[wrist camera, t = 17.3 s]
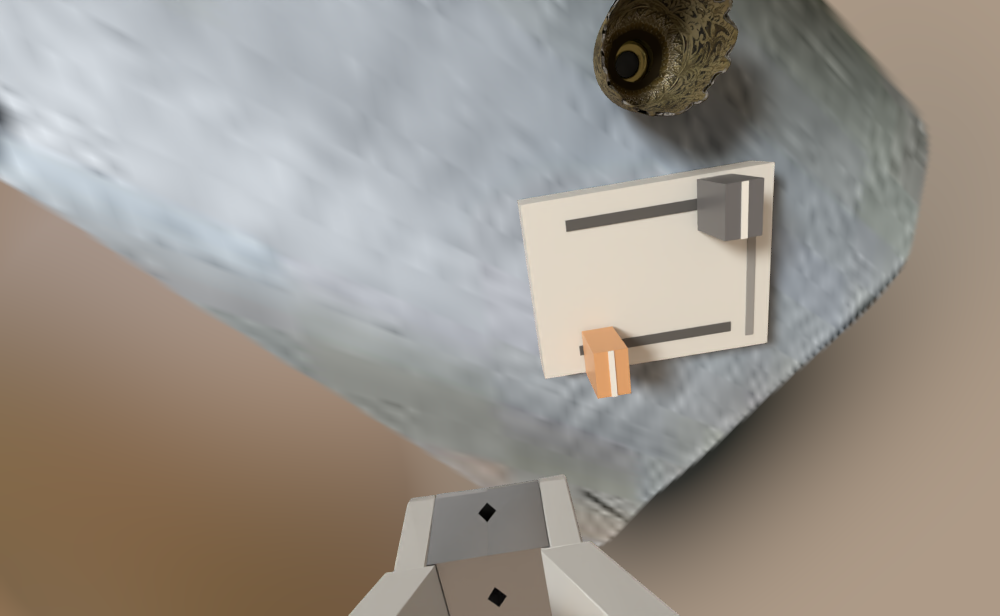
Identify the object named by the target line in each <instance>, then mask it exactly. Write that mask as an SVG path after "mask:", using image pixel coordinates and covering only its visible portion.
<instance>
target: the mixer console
mask: <svg viewBox="0 0 1000 616" xmlns="http://www.w3.org/2000/svg"><path fill="white" fill-rule="evenodd" d="M774 163H775V162H763V161H746V162H740V163H734V164H728V165H722V166H716V167H710V168H704V169H698V170H693V171H687V172H681V173H675V174H669V175H663V176H657V177H651V178H645V179H639V180H633V181H627V182H621V183H616V184H610V185H604V186H598V187H592V188H586V189H580V190H574V191H568V192H562V193H556V194H550V195H545V196H539V197H533V198H527V199H521V200H517V201H518V208H519V215H520V222H521V229H522V236H523V243H524V250H525V256H526V263H527V270H528V277H529V284H530V291H531V298H532V305H533V312H534V318H535V325H536V332H537V339H538V346H539V353H540V360H541V364H542V368H543V372H544V375H545V379H547V378H553V377H559V376H565V375H571V374H577V373H584V372H586V368H585V359H584V350H583V340H582V331H587V330H593V329H599V328H605V327H611V326H612V327H613V328H614V329H615V331H616V332H617V334H618V335H619V336H620V338H621V339H622V341H623V342H624V343H625V345H626V346H627V348H628V357H629V365H633V364H639V363H645V362H651V361H657V360H664V359H670V358H676V357H682V356H688V355H694V354H701V353H707V352H713V351H719V350H725V349H731V348H737V347H744V346H750V345H756V344H762V343H767V333H768V308H769V284H770V260H771V236H772V211H773V187H774ZM731 173H732V174H739V175H747V176H755V177H763V178H764V203H763V232H762V235H761V236H755V237H749V238H746V239H737V240H731V241H723V240H720V239H718V238H715V237H713V236H711V235H708V234H706V233H703V232H701V231H698V224H697V179H701V178H707V177H713V176H719V175H725V174H731Z"/></svg>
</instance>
